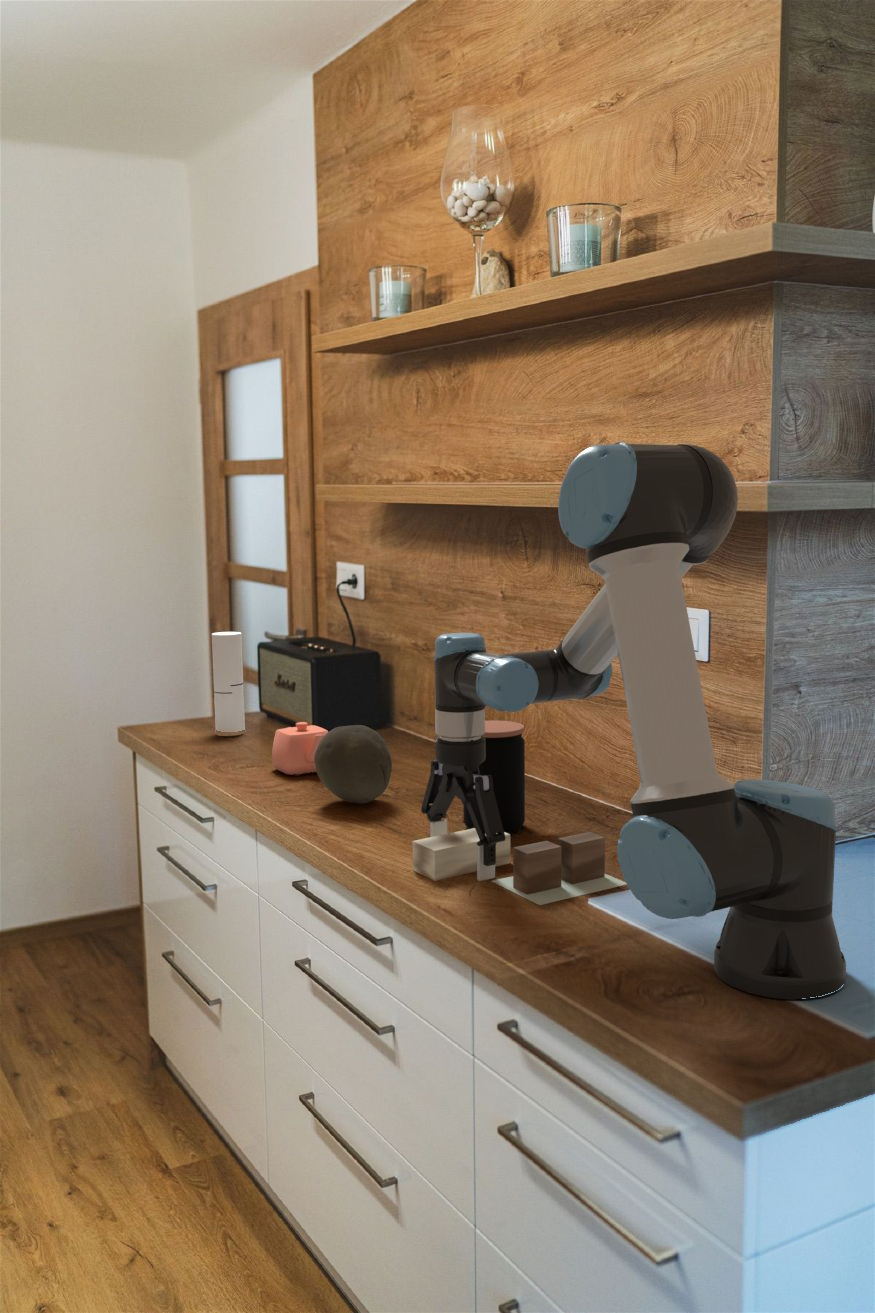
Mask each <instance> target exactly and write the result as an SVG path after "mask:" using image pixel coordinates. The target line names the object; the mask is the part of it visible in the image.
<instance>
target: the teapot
mask: <svg viewBox="0 0 875 1313" xmlns="http://www.w3.org/2000/svg"><path fill="white" fill-rule="evenodd" d="M308 724H309V723H308V722H306V721H300V722H296V723H295V726H292V727H291V726H288V727H285V728H284V727H283V728H278V729H277V730H275V732H274V734H275V735H274V738H273V743H272V753H271V760H272V764H273V767H274V769H276V770H277V771H279V772H281V773H284V774H285V775H292V776H294V775H293V774H302V775H303V774H309V773H311V772H312V773H317V770H316V766H315V752H316V750H317V748H318V745H319V742H320V741H321V739H322V738H323V737H324V736H325V735H326V734H327V733H328V732H329V731H328V730H327V729H326V728H323V727H320V726H318V725H314V724H313V725H312V724H311V725H308Z"/></svg>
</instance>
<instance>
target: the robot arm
mask: <svg viewBox="0 0 875 1313" xmlns="http://www.w3.org/2000/svg"><path fill="white" fill-rule="evenodd" d="M738 494H739V493H738V488H737V484H736V481H735V477H734V475H733V473H732V472H731V470H730V468H729V466H728V465H727V464H726V463H725V462H724V461H723V459H722V458H721V457H719V455H717V454H715V453H714V452H713V451H711V450H709V449H707V448H705V447H703V446H700V445H699V446H698V445H694V444H685V443H683V444H681V443H679V444H657V443H656V444H655V443H654V444H652V443H651V444H649V443H645V444H644V443H627V442H622V441H621V442H620V441H619V442H615V443H611V444H610V443H609V444H608V443H607V444H597V445H591V446H590V447H587V448H585V449H584V450H582V451H581V452H580V453H578V455H577V456H576V457H575V458H574V459H573V460H572V461H571V463H570V465H569V466H568V468H567V470H566V474H565V476H564V478H563V479H562V481H561V485H560V490H559V495H558V501H557V502H558V504H557V505H558V506H557V507H558V509H557V510H558V520H559V524H560V528H561V530H562V532H563V535H564V536H565V537H566V538H568V541H569V542H570V543H571V544H573V545H574V546H577V547H578V548H580V549H585V552H586V556H587V557H586V558H587V562H588V566H589V567H588V568H589V569H590V570H591V571H592V572H593V573H595V574H597V575H598V576H600V577H601V578H602V579H603V580H604V584H603V586H602V587H601V589H600V590H599V591H598V592H597V594H596V595H595V596H594V598H593V599H592V600H591V602H590V603H589V605H588V606H587V607H586V608H585V610H584V611H583V612H582V613H581V615H580V616H579V618H577V620H576V622H575V623H574V624H573V625H572V626H571V628H570V629H569V631H568V632H567V633H566V635H565V636H564V637H563V639H562V640H561V641H560V642H559V644H558V645H557V646H556V647H554V648H552V649H544V650H535V651H526V652H525V651H524V652H514V653H513V652H511V653H502V654H501V653H499V654H498V653H491V652H490V653H489V652H487V648H486V643H485V642H486V641H485V638H484V637H483V636H482V634H480V633H474V632H451V633H444V634H441V635H438V636H437V638H436V639H435V645H434V646H435V648H434V658H433V664H434V666H433V670H434V696H435V698H434V699H435V700H434V701H435V709H434V710H435V712H434V714H435V716H434V717H435V718H434V719H435V720H434V721H435V724H434V726H435V735H436V736H437V738H435V759H434V760H431V761H430V774H429V778H428V782H427V785H426V790H425V793H424V796H423V799H422V800H423V801H422V803H421V808H420V809H421V813H422V814H423V815H426V819H427V820H428V821H429V837H434V836H439V835H444V834H448V820H447V819H446V818H448V815H447V812H448V811H449V808H450V806H451V805H452V802H453V801H454V799H455V797H456V798H457V799H460V801H461V803H462V805H463V804H464V805H466V806H467V809H468V811H469V814H470V816H471V819H472V822H473V824H474V827H475V829H476V832H477V834H478V837H479V839H480V841H479V842H478V843H477V871H476V880H477V881H479V882H482V881H487V880H491V879H495V878H496V867H495V863H496V843H497V842H502V841H505V833H504V829H503V825H502V822H501V818H500V814H499V810H498V806H497V802H496V798H495V794H494V790H493V777H492V776H491V775H485V776H481V775H480V772H479V765H480V764H481V763H483V762H484V761H485V759H486V740H485V738H484V737H483V736H481V735H483V734H484V733H485V721H486V707H488V708H490V709H492V710H496V711H498V712H511V713H515V712H516V713H517V712H520V711H523V710H524V709H526V708H527V707H528V706H530V705H532V704H533V705H534V704H540V703H541V704H542V703H547V702H556V701H558V702H559V701H567V700H568V701H569V700H583V699H588V698H589V697H593V696H598V695H601V694H603V693H604V692H606V691H607V690H608V688H609V687H610V685H611V681H610V680H611V678H613V664H612V662H613V661H614V660H615V659H616V657H617V656H618V657H617V658H618V662H619V668H620V674H621V678H622V680H621V681H622V684H623V689H624V690H623V691H624V696H625V701H626V708H627V712H628V717H629V723H630V730H631V735H632V736H631V737H632V740H633V747H634V752H635V753H634V754H635V757H636V763H637V769H638V775H639V781H640V784H639V787H638V789H637V791H636V792H635V793H634V794H633V796H632V798H631V799H630V807H631V812H632V818H631V819H629V820H628V822H626V823H625V824H624V825H623V826H622V828H621V830H620V833H619V836H620V838H618V840H617V847H616V849H617V850H616V851H617V858H618V859H617V860H618V864H619V867H620V871H621V875H622V877H623V879H624V882H626V883H627V885H626V886H627V887H628V889H629V890H630V892H631V893H632V895H633V896H634V898H636V899H637V900H638V901H639V902H640V903H641V905H642V906H643V907H644V908H645V909H647V910H648V911H649V912H650V913H652V914H654V915H655V916H658V917H661V918H665V919H669V920H679V919H683V918H684V919H685V918H689V917H690V918H691V917H696V918H697V917H698V918H700V917H703V916H706V915H707V914H709V913H712V912H716V911H720V910H723V909H727V908H729V910H728V913H727V915H726V918H725V921H724V924H723V925H722V926H723V927H722V929H721V933H720V935H719V936H720V937H719V938H718V939H719V940H718V941H717V943H716V945H715V947H714V952H713V953H714V955H713V957H714V958H713V959H714V960H713V969H714V972H715V974H716V976H717V977H718V978H719V979H720V980H721V981H723V982H724V983H726V984H727V985H729V986H731V987H733V988H735V989H738V990H740V991H742V992H745V993H749V994H752V995H756V996H760V997H765V998H770V999H778V1000H790V1001H791V1000H795V999H802V998H810V997H816V996H817V997H818V996H822V995H825V994H828V993H831V992H834V991H836V990H838V989H839V988H840V987H841V986H842V985H843V984H844V983H845V984H846V982H845V980H846V977H847V961H846V959H845V956H844V953H843V952H842V951H841V946H840V941H839V938H838V934H837V929H836V926H835V925H836V924H835V922H834V918H833V904H834V903H833V902H834V901H833V900H834V899H833V898H834V882H835V881H834V880H835V879H834V877H835V860H836V859H835V858H836V857H835V856H836V855H835V854H836V852H835V851H836V839H837V837H836V835H837V834H836V833H837V831H838V827H837V825H836V805H835V803H834V801H833V799H832V798H831V796H830V795H828V794H827V793H825V792H824V791H821V790H819V789H816V788H814V787H809V786H805V785H801V784H795V783H790V782H784V781H777V780H769V779H741V780H737V781H736V782H734V784H733V783H731V782H730V781H729V780H727V779H726V778H724V777H723V776H722V775H721V774H719V772H718V769H717V764H716V759H715V754H714V749H713V744H712V737H711V733H710V727H709V721H708V716H707V711H706V704H705V699H704V695H703V688H702V684H701V678H700V673H699V666H698V662H697V656H696V652H695V647H694V641H693V634H692V630H691V624H690V619H689V614H688V608H687V604H686V598H685V592H684V586H683V581H682V578H683V577H684V576H686V574H687V572H689V571H690V569H691V568H692V567H693V566H698V565H702V564H704V563H706V562H707V561H709V559H710V558H711V557H712V555H713V554H714V553H715V552H716V551H717V550H718V549H719V547H720V545H721V544H723V542H724V540H725V539H726V537H727V536H728V534H729V532H730V531H731V528H732V526H733V524H734V522H735V518H736V515H737V512H738V511H737V510H738V504H739V501H738V500H739V498H738V497H739V496H738ZM475 792H476V795H474V794H475ZM485 833H486V835H485ZM846 981H847V980H846ZM795 1001H796V1000H795Z"/></svg>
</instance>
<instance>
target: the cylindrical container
mask: <svg viewBox="0 0 875 1313" xmlns="http://www.w3.org/2000/svg"><path fill="white" fill-rule="evenodd" d="M242 638H243V637H242V632H240V631H221V632H219V631H218V632H213V633H211V647H212V648H211V649H212V673H213V674H212V676H213V697H214V698H213V699H214V700H213V704H214V720H215V721H214V726H215V731H216V730H217V731H221V732H238V731H242V730H245V731H246V721H245V719H246V718H245V696H244V695H245V694H244V693H245V690H244V666H243V643H242V642H243V641H242V640H243V639H242Z"/></svg>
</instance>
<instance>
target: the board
mask: <svg viewBox="0 0 875 1313" xmlns="http://www.w3.org/2000/svg"><path fill="white" fill-rule="evenodd" d="M491 882H492V883H493V884H496V885H498V886H500V887H502V888H504V889H506V890H508V891H510V892H512V893H514V894H516V895H518V896H519V897H522V898H524V899H526V900H528V901H530V902H532V903H534V904H536V905H538V906H542V905H547V904H551V903H555V902H559V901H563V900H566V899H572V898H575V897H580V896H584V895H588V894H589V895H590V894H593V893H597V892H602V891H605V890H610V889H614V888H618V887H622V886H628V885H627V883H626V881H625V880H624V881H623V880H621V879H619V878H617V877H614V876H612V875H609V874H607V873H605V877H602V878H598V879H594V880H589V881H585V882H581V883H576V884H570V883H568V882H566V881H564V880H562V879H561V887H559V888H555V889H550V890H546V891H541V892H537V893H533V894H528V895H527V894H525V893H523V892H521V891H519V890H517V889H515V888H513V875H512V876H508V877H502V878H497V879H493V880H491Z"/></svg>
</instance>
